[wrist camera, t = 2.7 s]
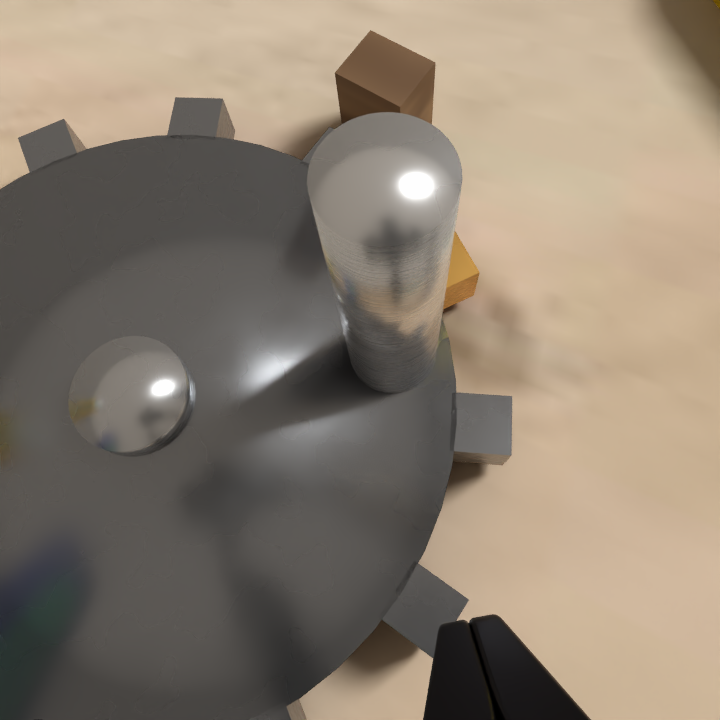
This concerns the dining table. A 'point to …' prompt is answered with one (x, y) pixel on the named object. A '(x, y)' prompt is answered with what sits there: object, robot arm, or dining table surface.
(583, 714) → the robot arm
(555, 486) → the dining table surface
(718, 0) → the element tile
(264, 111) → the dining table surface
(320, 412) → the sprocket
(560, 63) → the dining table surface
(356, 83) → the brown rectangular block
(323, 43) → the dining table surface
